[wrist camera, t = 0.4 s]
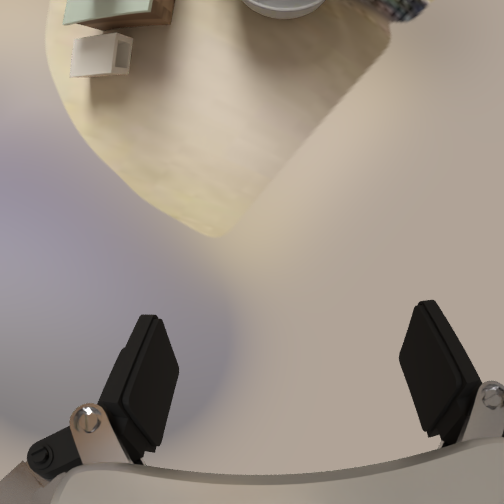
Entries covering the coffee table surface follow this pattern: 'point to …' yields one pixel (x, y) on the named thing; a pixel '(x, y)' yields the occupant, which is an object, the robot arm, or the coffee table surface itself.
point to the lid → (102, 9)
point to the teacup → (283, 7)
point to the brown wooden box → (136, 17)
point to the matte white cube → (101, 55)
